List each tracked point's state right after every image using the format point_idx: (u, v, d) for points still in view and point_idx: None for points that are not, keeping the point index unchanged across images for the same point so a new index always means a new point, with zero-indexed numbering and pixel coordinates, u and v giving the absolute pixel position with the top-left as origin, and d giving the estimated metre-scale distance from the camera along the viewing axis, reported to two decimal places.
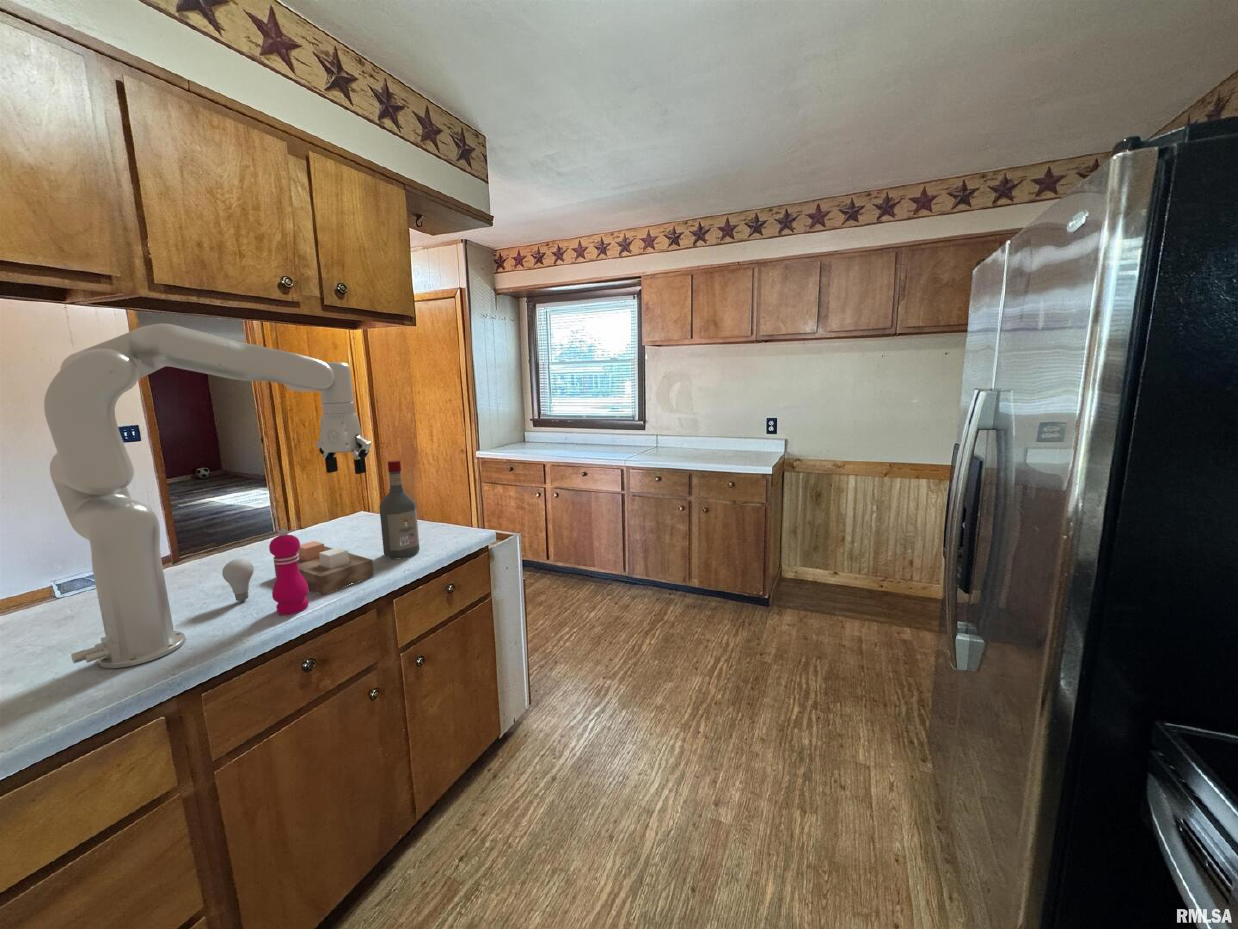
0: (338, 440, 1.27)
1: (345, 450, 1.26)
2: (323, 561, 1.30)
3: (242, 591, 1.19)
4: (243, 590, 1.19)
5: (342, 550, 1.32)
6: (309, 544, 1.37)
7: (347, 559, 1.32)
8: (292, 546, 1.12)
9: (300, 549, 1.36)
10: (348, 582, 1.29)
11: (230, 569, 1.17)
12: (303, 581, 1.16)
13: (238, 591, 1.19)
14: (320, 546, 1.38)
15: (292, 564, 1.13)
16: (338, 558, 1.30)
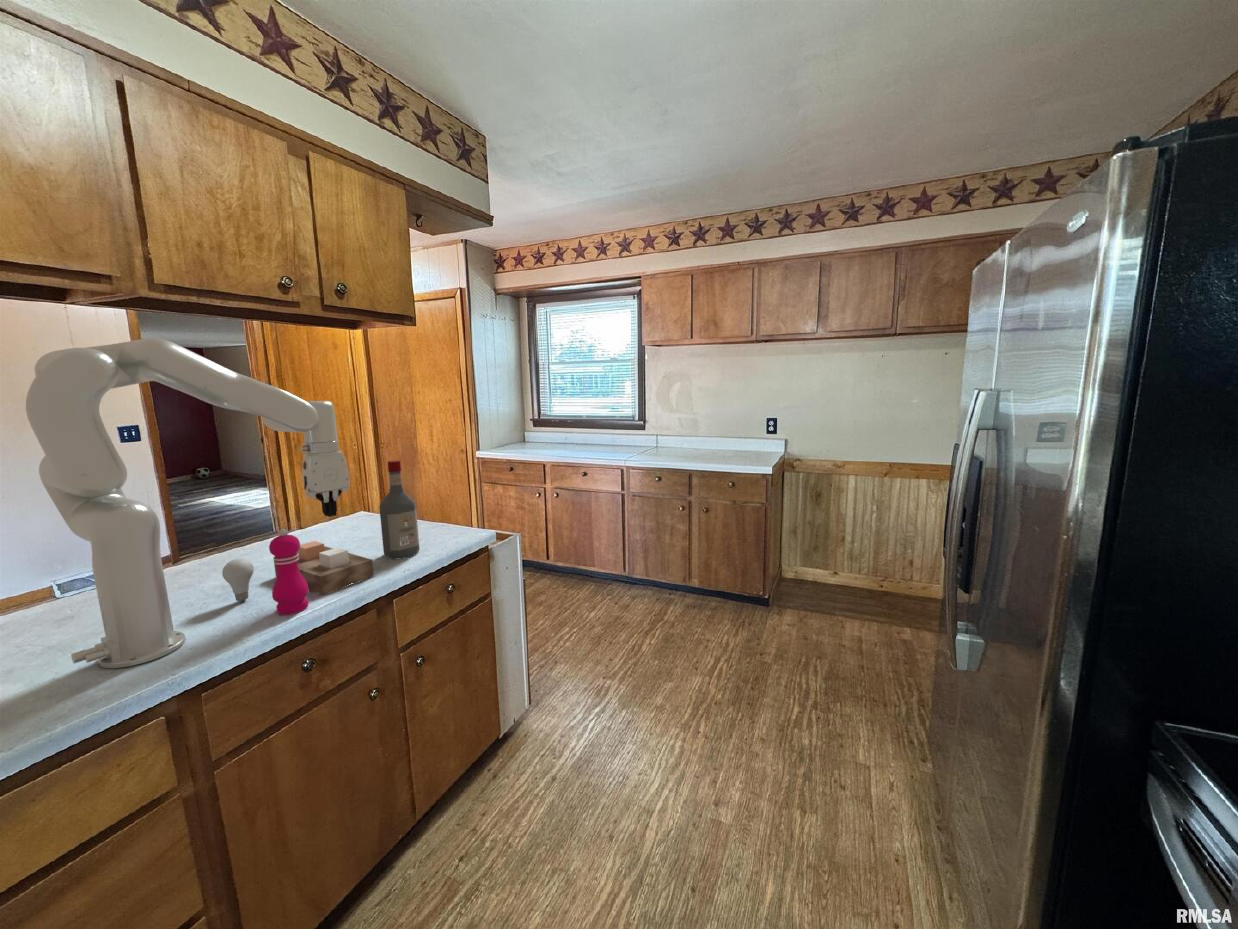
0: (337, 477, 1.28)
1: (345, 485, 1.30)
2: (323, 561, 1.30)
3: (242, 591, 1.19)
4: (243, 590, 1.19)
5: (342, 550, 1.32)
6: (309, 544, 1.37)
7: (347, 559, 1.32)
8: (292, 546, 1.12)
9: (300, 549, 1.36)
10: (348, 582, 1.29)
11: (230, 569, 1.17)
12: (303, 581, 1.16)
13: (238, 591, 1.19)
14: (320, 546, 1.38)
15: (292, 564, 1.13)
16: (338, 558, 1.30)
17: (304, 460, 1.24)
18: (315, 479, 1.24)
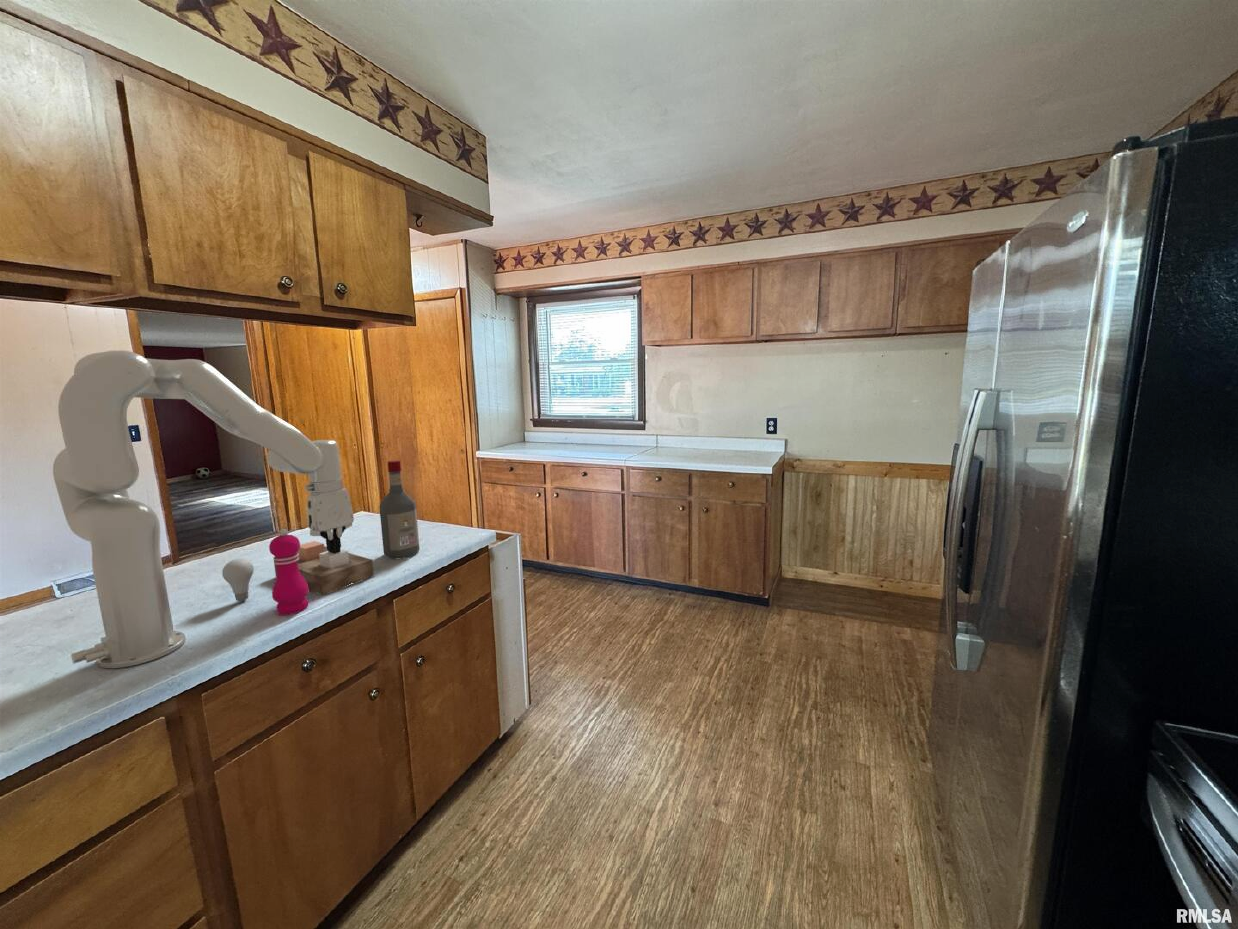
0: (341, 515, 1.30)
1: (349, 522, 1.32)
2: (324, 562, 1.30)
3: (242, 591, 1.19)
4: (243, 590, 1.19)
5: (342, 551, 1.32)
6: (309, 544, 1.37)
7: (347, 560, 1.32)
8: (292, 546, 1.12)
9: (300, 549, 1.36)
10: (348, 582, 1.29)
11: (230, 569, 1.17)
12: (303, 581, 1.16)
13: (238, 591, 1.19)
14: (320, 546, 1.38)
15: (292, 564, 1.13)
16: (339, 559, 1.30)
17: (309, 499, 1.25)
18: (320, 518, 1.25)
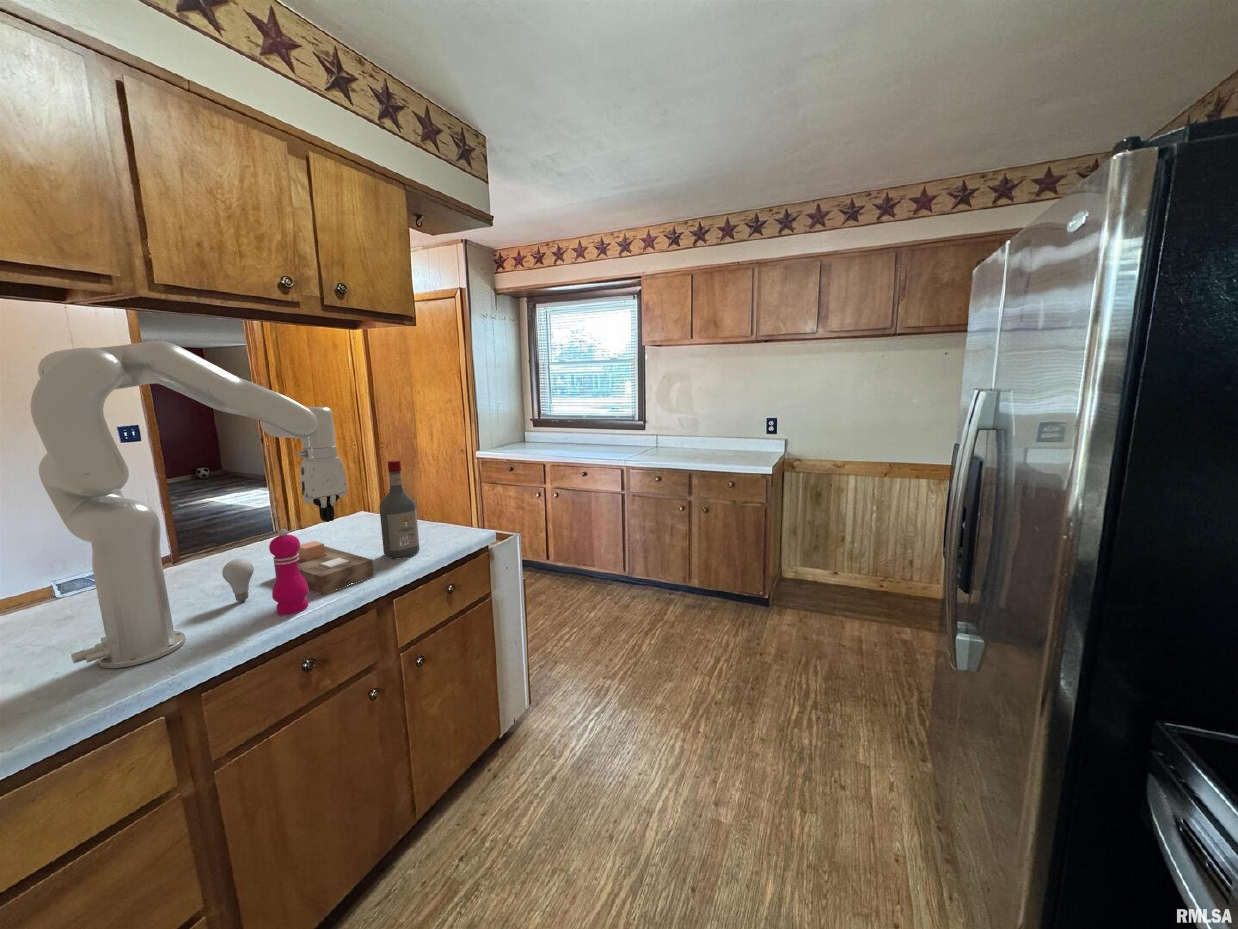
0: (335, 482, 1.29)
1: (343, 490, 1.31)
2: None
3: (242, 591, 1.19)
4: (243, 590, 1.19)
5: (343, 561, 1.33)
6: (309, 544, 1.37)
7: None
8: (292, 546, 1.12)
9: (300, 549, 1.36)
10: (348, 582, 1.29)
11: (230, 569, 1.17)
12: (303, 581, 1.16)
13: (238, 591, 1.19)
14: (320, 546, 1.38)
15: (292, 564, 1.13)
16: None
17: (302, 465, 1.24)
18: (312, 484, 1.24)
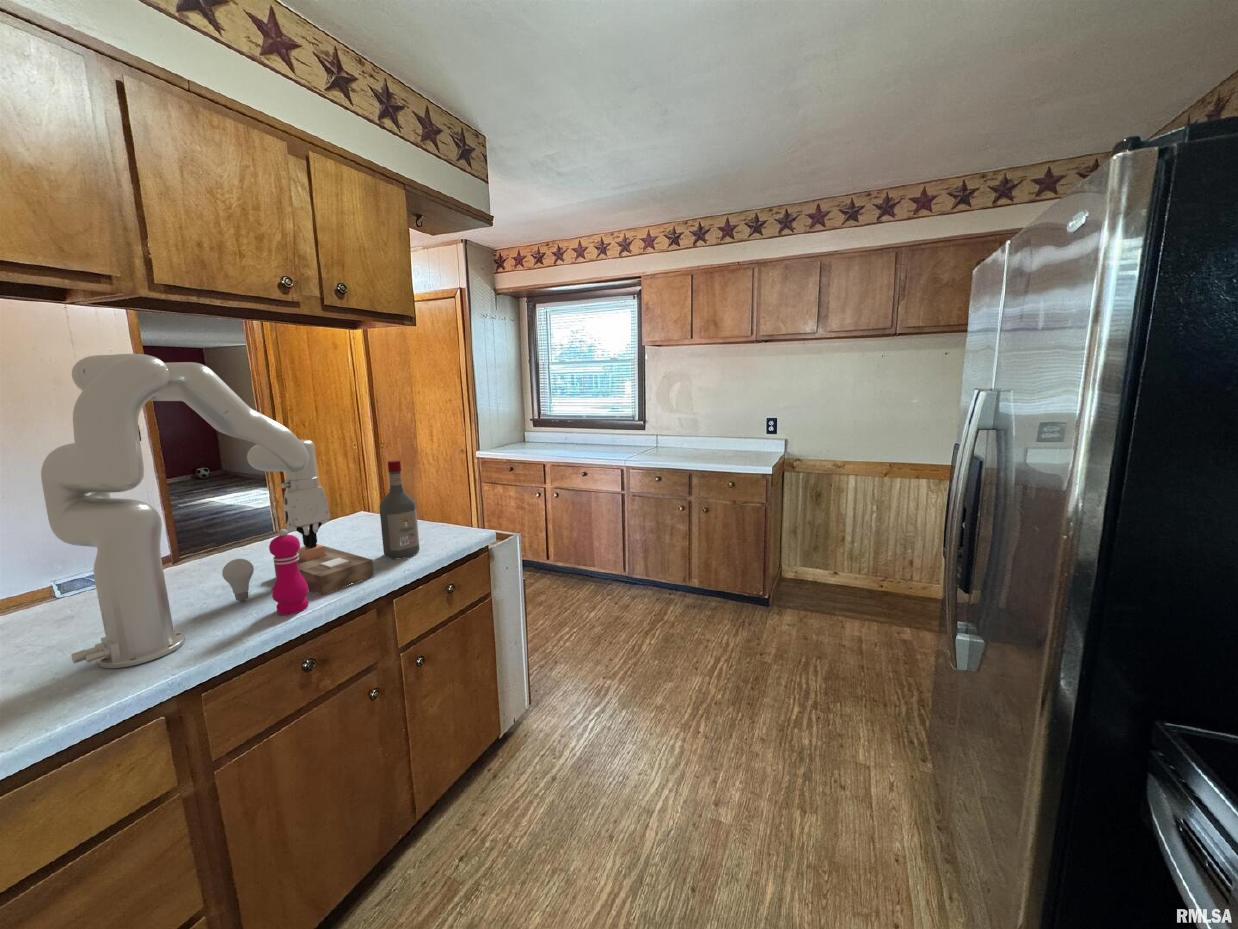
0: (317, 511, 1.36)
1: (325, 518, 1.38)
2: None
3: (242, 591, 1.19)
4: (243, 590, 1.19)
5: (343, 561, 1.33)
6: None
7: None
8: (292, 546, 1.12)
9: (300, 551, 1.36)
10: (348, 582, 1.29)
11: (230, 569, 1.17)
12: (303, 581, 1.16)
13: (238, 591, 1.19)
14: (320, 548, 1.38)
15: (292, 564, 1.13)
16: None
17: (285, 496, 1.31)
18: (295, 514, 1.31)
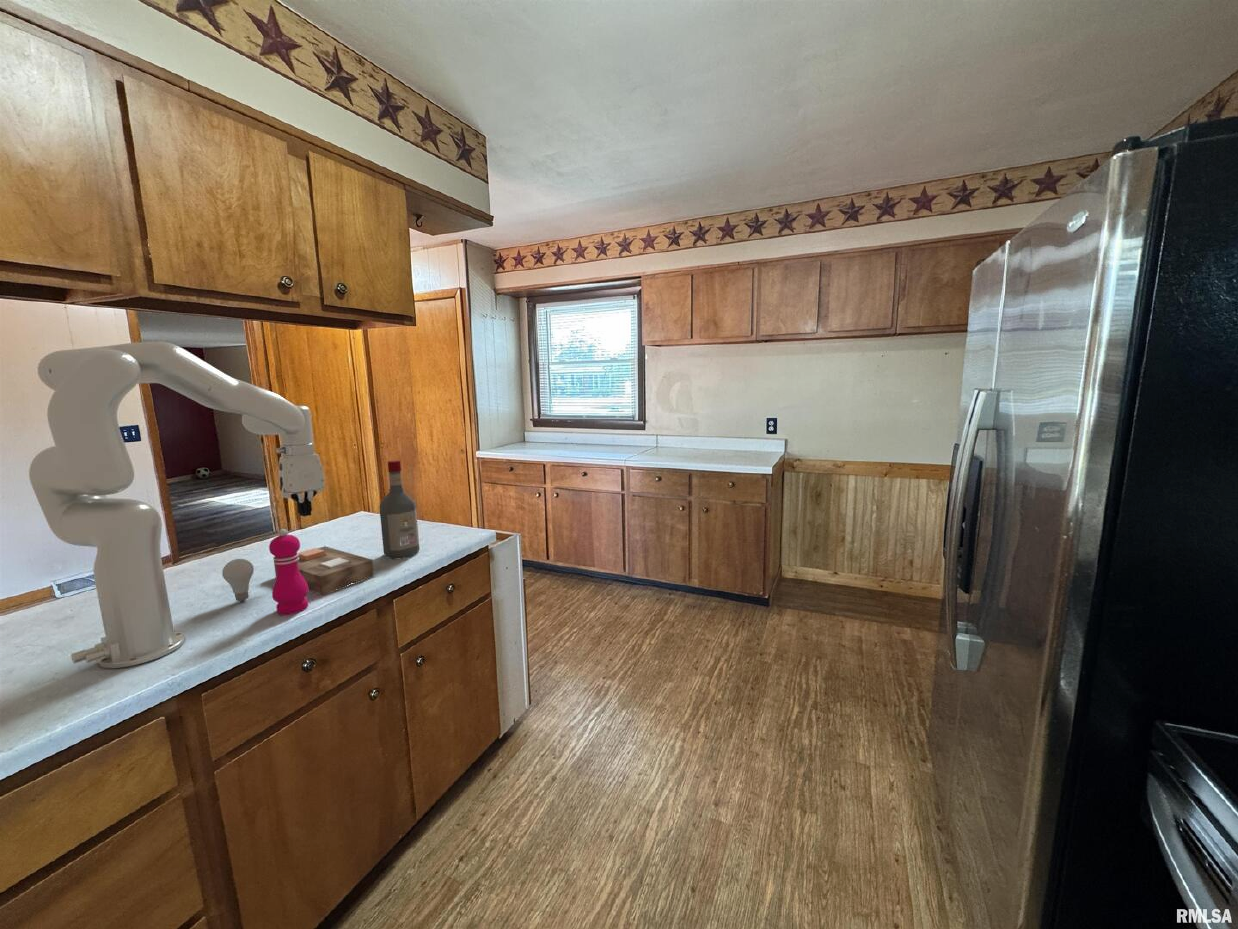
0: (312, 478, 1.34)
1: (320, 486, 1.36)
2: None
3: (242, 591, 1.19)
4: (243, 590, 1.19)
5: (343, 561, 1.33)
6: (310, 552, 1.38)
7: None
8: (292, 546, 1.12)
9: (301, 556, 1.36)
10: (348, 582, 1.29)
11: (230, 569, 1.17)
12: (303, 581, 1.16)
13: (238, 591, 1.19)
14: (320, 553, 1.38)
15: (292, 564, 1.13)
16: None
17: (280, 462, 1.29)
18: (290, 480, 1.29)
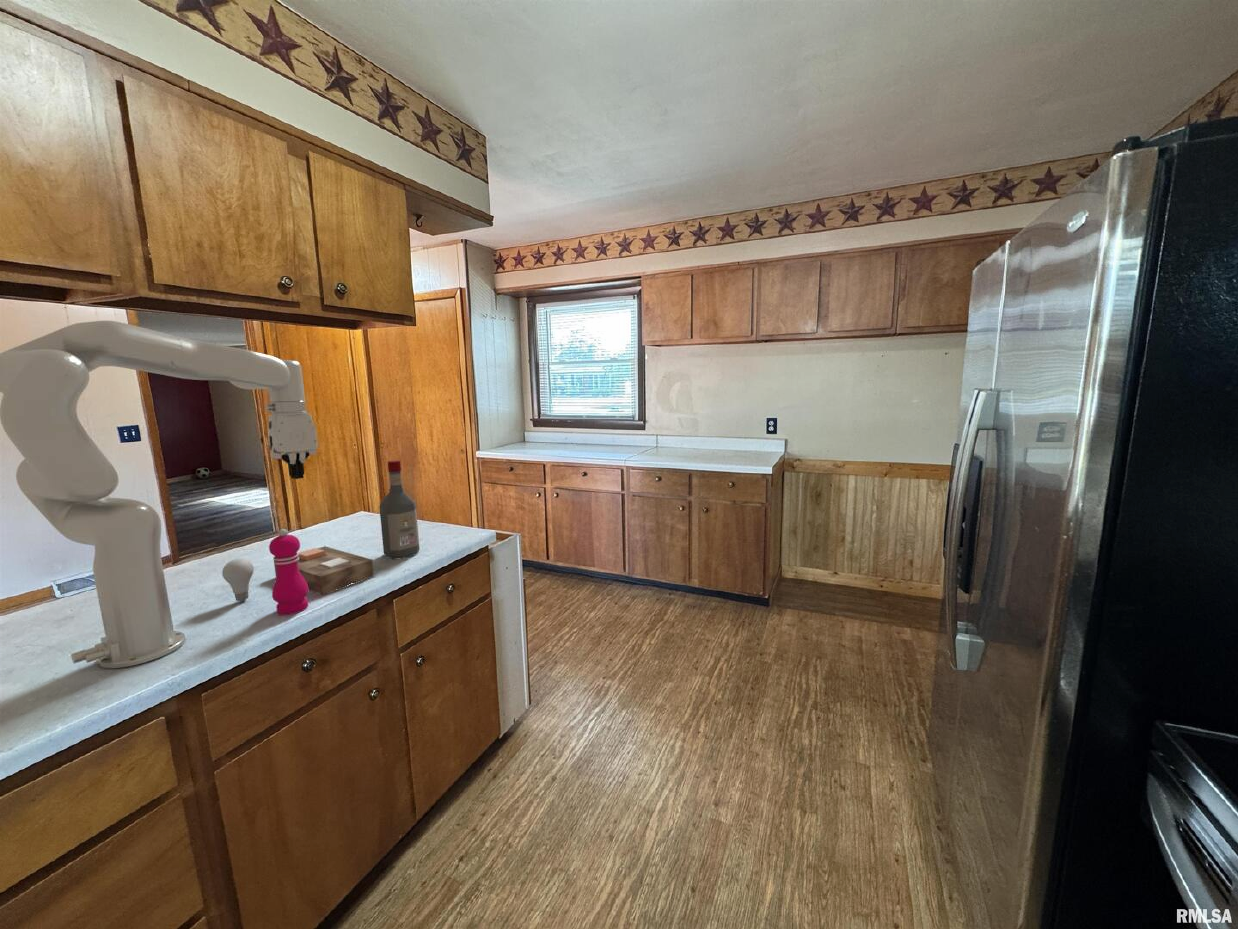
0: (304, 438, 1.26)
1: (313, 447, 1.28)
2: None
3: (242, 591, 1.19)
4: (243, 590, 1.19)
5: (343, 561, 1.33)
6: (310, 552, 1.38)
7: None
8: (292, 546, 1.12)
9: (301, 556, 1.36)
10: (348, 582, 1.29)
11: (230, 569, 1.17)
12: (303, 581, 1.16)
13: (238, 591, 1.19)
14: (320, 553, 1.38)
15: (292, 564, 1.13)
16: None
17: (269, 419, 1.22)
18: (280, 439, 1.21)
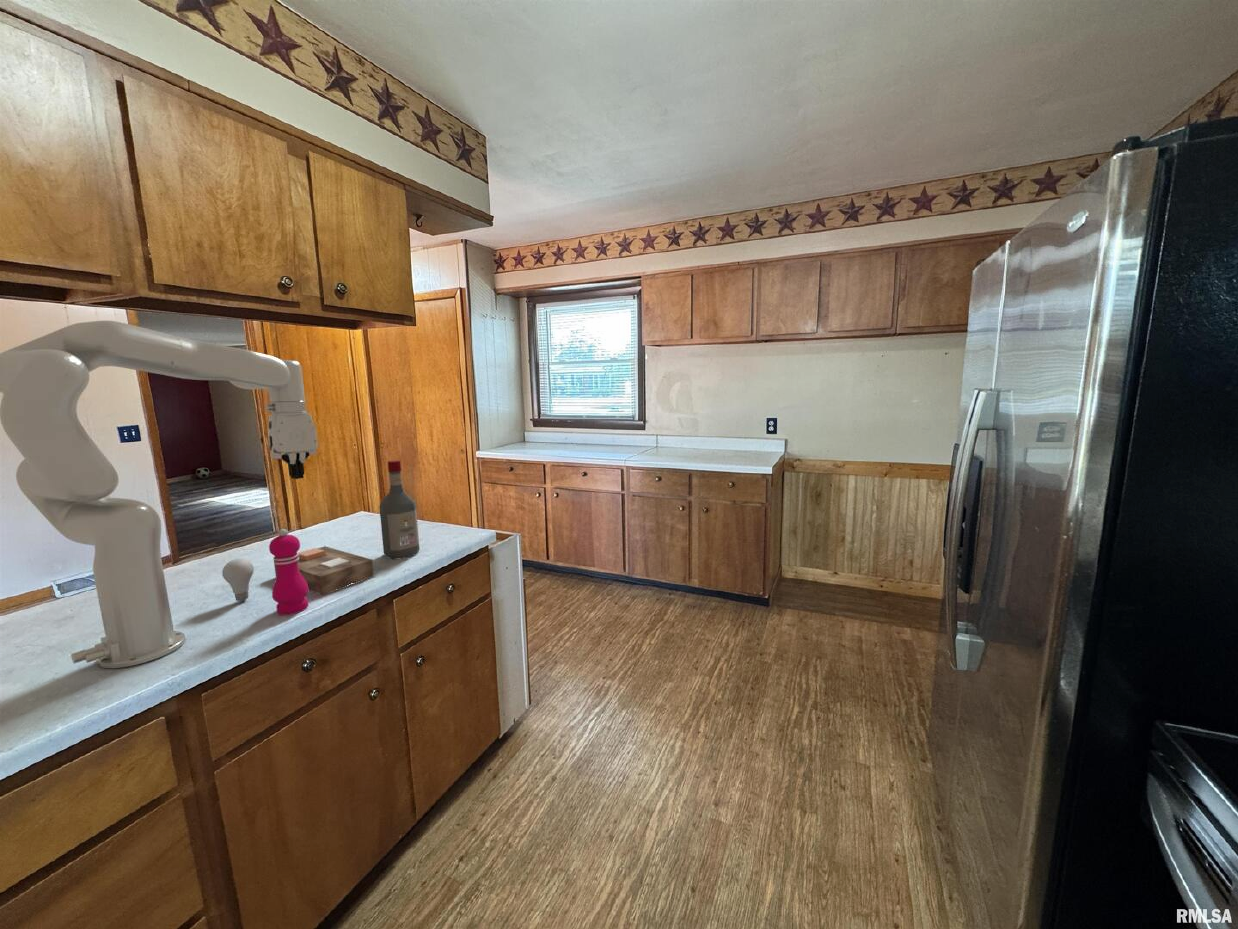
0: (304, 438, 1.26)
1: (313, 447, 1.28)
2: None
3: (242, 591, 1.19)
4: (243, 590, 1.19)
5: (343, 561, 1.33)
6: (310, 552, 1.38)
7: None
8: (292, 546, 1.12)
9: (301, 556, 1.36)
10: (348, 582, 1.29)
11: (230, 569, 1.17)
12: (303, 581, 1.16)
13: (238, 591, 1.19)
14: (320, 553, 1.38)
15: (292, 564, 1.13)
16: None
17: (269, 419, 1.22)
18: (280, 439, 1.21)
